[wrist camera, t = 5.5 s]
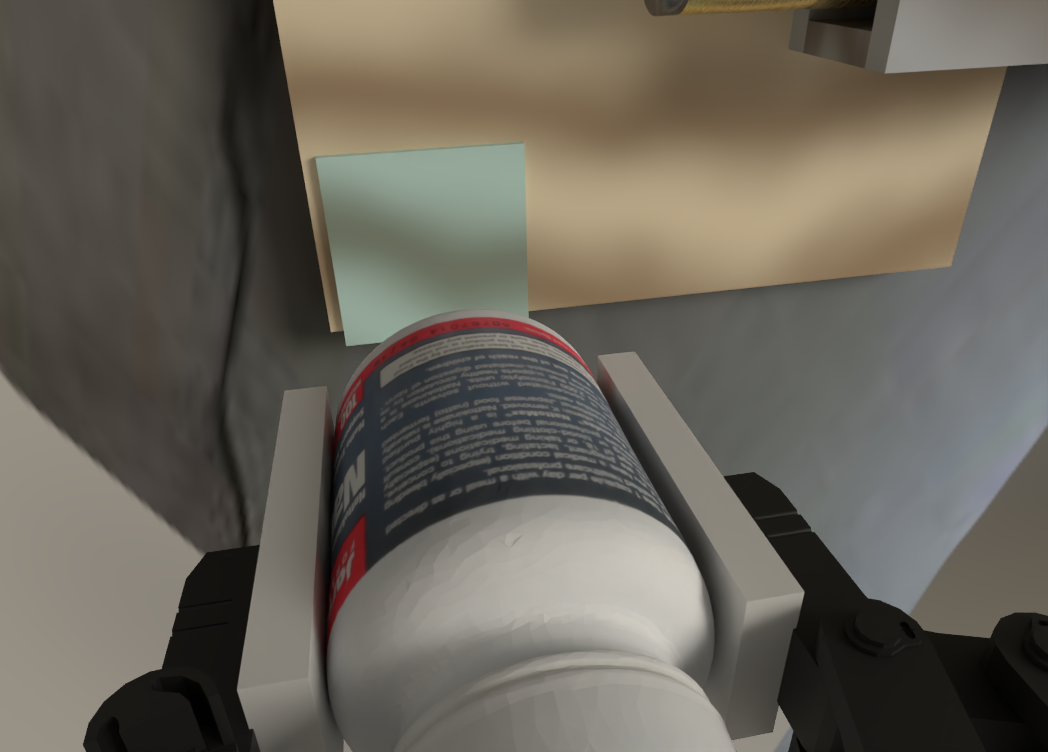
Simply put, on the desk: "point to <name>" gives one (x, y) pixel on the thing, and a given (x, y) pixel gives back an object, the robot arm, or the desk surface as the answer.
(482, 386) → the pill bottle
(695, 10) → the pin
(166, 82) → the desk surface
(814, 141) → the wooden base board
